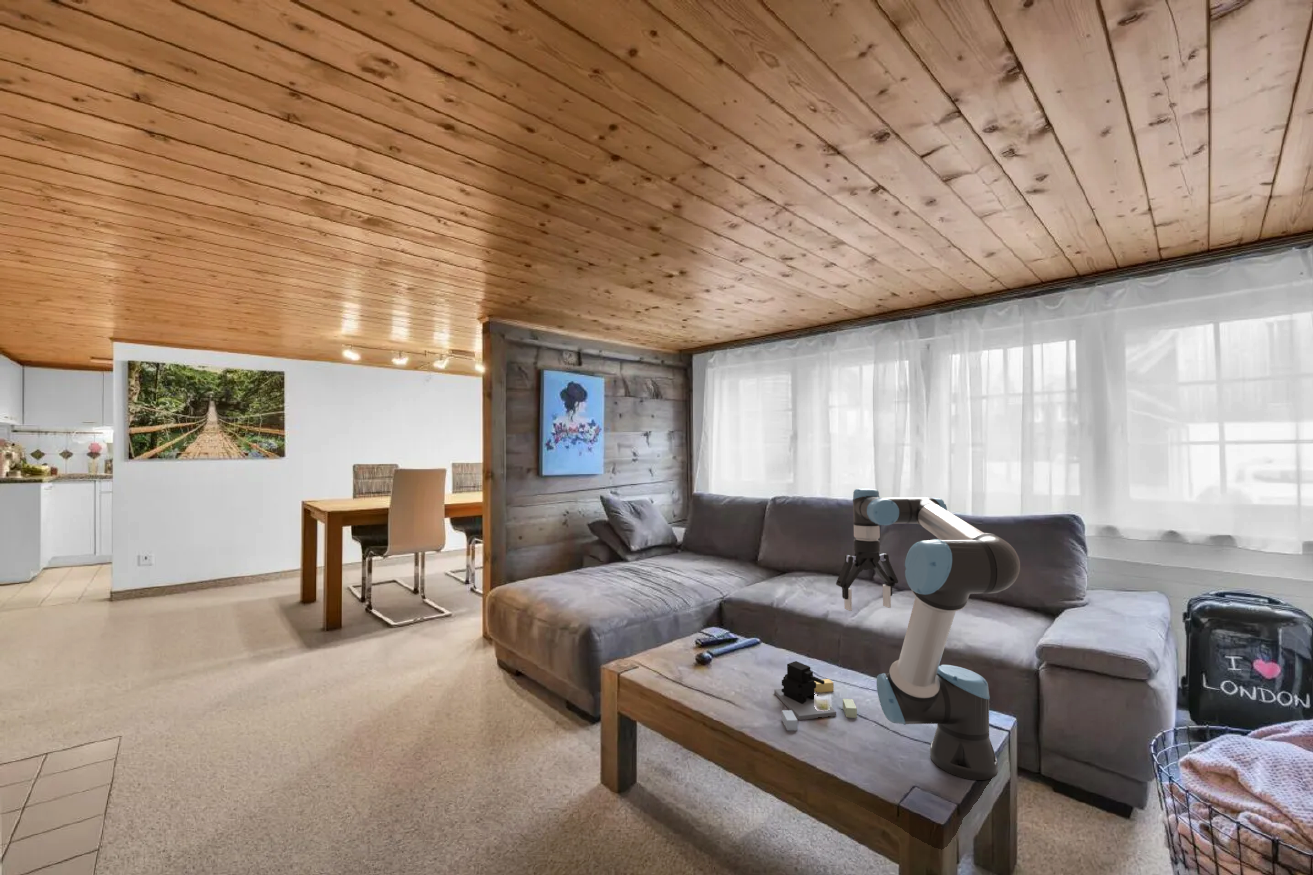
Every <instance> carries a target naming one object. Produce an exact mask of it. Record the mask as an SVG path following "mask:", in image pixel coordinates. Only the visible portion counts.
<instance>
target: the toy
mask: <svg viewBox="0 0 1313 875" xmlns="http://www.w3.org/2000/svg"><path fill="white" fill-rule="evenodd" d="M786 665H787V666H786V669H787V670H786V671H787V672H786V673H787V674H786V673H785V674H784V676H783V678H782V679H781V686H782V687H783V688H781V689H782V692H783V693H784V696H786V697H788V698H791V699H793V700H795V701H797V702H799V703H801V704H804V702H806V699H805V697H808V698H810V699H812V700H813V699H814V695H815V694H814V692H815V691H814V688H816V682H818V683H821V684H824V680H822V679H821V678H818V677H816V676H814V672H813V670H812V671H811V666H809V665H806V664H804V663H801V662H800V661H797V660H794V661H792V662H788V663H787V664H786ZM814 681H816V682H814Z"/></svg>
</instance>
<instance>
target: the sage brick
mask: <svg viewBox="0 0 1313 875" xmlns="http://www.w3.org/2000/svg"><path fill="white" fill-rule="evenodd" d="M842 709H843V711H844V715H845V717H846V718H850V719H851V718H853V719H857V718H858V709H857V706H856V704H855V702H854V699H852V698H842Z"/></svg>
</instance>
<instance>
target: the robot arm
mask: <svg viewBox="0 0 1313 875" xmlns="http://www.w3.org/2000/svg"><path fill="white" fill-rule="evenodd" d="M852 494H853V497H852V504H853V505H852V507H853V508H852V509H853V511H852V514H853V516H852V517H853V537H854V539H853V551H854V555H849V554H845V556H844V563H843V565H842V567H841V570H840V573H839V575H838V577H837V579H836V583H835V585H836V586H838V587H840V588H841V595H842V596H841V598H842V599H843V600H844V609H845V610H847V611H849V612H852V610H853V601H852V596H853V595H852V591H853V590H852V588H850V587H851V586H852V584H853V583H854V581H855V580H857V579H856V578H858V575H859V574H860V573H861V572H862V571H863V570H864V571H868V570H874V571H875V573H876V574H877V575H878V577H879V578H880V579H881V580H882V582H883V583H884V584H882V606H883V607H886V608H889V609H891V608H892V602H891V601H892V599H891V597H892V596H893V587H895V585H896V584H899V579H898V577H897V575H896V573H895V571H894V569H893V567H892V564H891V562H890V559H889V558H890V556H889V554H888V553H884V552H881V546H880V545H881V542H880V541H881V540H879V539H880V537H881V536H880V533H881V532H880V531H881V530H880V526H890V525H892V524H903V525H904V524H915V525H916V524H917V525H919V526H921V527H922V528H924V529H925V530H926V531H928V532H929V533H931V534H932V535H933V536H935V537H936V538H932V539H930V540H929V539H928V540H919V541H916V542H915V543H914V544H912V545H911V547H910V548H909V549H908V552H907V554H906V557H905V561H904V568H905V570H904V576H905V580H906V583H907V585H908V587H909V589H911V593H912V594H913V596H914V597H915V598H914V601H913V606H912V610H911V612H910V616H909V620H908V624H907V628H906V632H905V636H904V640H903V643H902V647H901V651H900V654H899V658H898V659H897V660H895V661H894V662H892V663H891V665H890V667H889V671H888V673H885V672H883V673H879V674H878V675H877V676H876V692H877V697H878V701H879V704H880V707H881V710H882V712H883V714H884V716H885V718H886V719H887V720H888V721H889V722H891V724H897V725H898V724H900V725H903V726H904V725H905V726H906V725H937V727H936V730H935V732H934V736H933V740H932V741H931V744H930V746H929V754H930V755H929V756H930V759H931V761H932V762H933V763H934V764H935V765H936V766H937V767H938V768H940V769H941V770H943V771H945V772H946V773H949V774H951V775H953V776H956V777H960V778H963V779H967V780H973V781H975V780H976V781H986V780H992V779H994V778H995V777H997V775H998V773H999V763H998V762H999V761H998V759H997V756H996V754H995V753H996V752H995V749H994V748H993V744H992V741H991V739H990V699H991V696H990V691H989V689H990V688H989V684H988V682H987V680H986V679H985V678H984V677H983V676H982V675H980V674H979V673H977V672H974V671H973V670H970V669H967V668H965V667H961V666H957V665H951V664H941V665H940V663H941V661H942V657H943V653H944V651H945V648H946V644H947V641H948V638H949V635H950V631H951V628H952V625H953V622H954V618H955V615H956V612H958V611H961V610H963V609H964V608H965V607H966V605H967V603H968V599H969V598H970V595H973V594H974V595H975V594H976V595H977V594H978V595H979V594H981V595H983V594H985V595H986V594H997V593H1001V592H1002V591H1005V590H1007V589H1009V588H1010V587H1011V586H1013V585H1014V583H1015V582H1016V580H1017V579H1018V577H1019V574H1020V571H1021V561H1020V557H1019V555H1018V553H1017V552H1016V549H1015V548H1014V547H1013V546H1012V545H1011V544H1010V543H1009V542H1008V541H1006V540H1005V539H1003V538H1001V537H999V536H998V535H996V534H995V533H990V532H983V531H982V530H980V529H978V528H977V527H975V526H973V525H971V524H970V523H968V522H966V521H965V520H963V519H961V518H960V517H959V516H957V515H955V514H954V513H952V512H950V511H949V510H948V507H947V504H946V503H945V501H944V500H943V499H942V498H940V497H931V496H926V497H880V492H879V491H878V489H875V488H855V489H854V490H853V493H852ZM880 552H881V553H880ZM879 562H881V565H882V566H881V565H880V563H879ZM882 567H883V568H884V569H883V568H882ZM884 570H885V571H884Z"/></svg>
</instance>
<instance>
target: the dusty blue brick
mask: <svg viewBox="0 0 1313 875" xmlns="http://www.w3.org/2000/svg"><path fill="white" fill-rule="evenodd" d="M798 720H799V719H798V718H797V717H796V716H795V715H794V713H793V711H792V710H790V709H788V710H786V709H784V710H783V709H782V710H781V721H782V723H783V725H784V727H785V729H786V730H787V731H798V723H799V722H798Z"/></svg>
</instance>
